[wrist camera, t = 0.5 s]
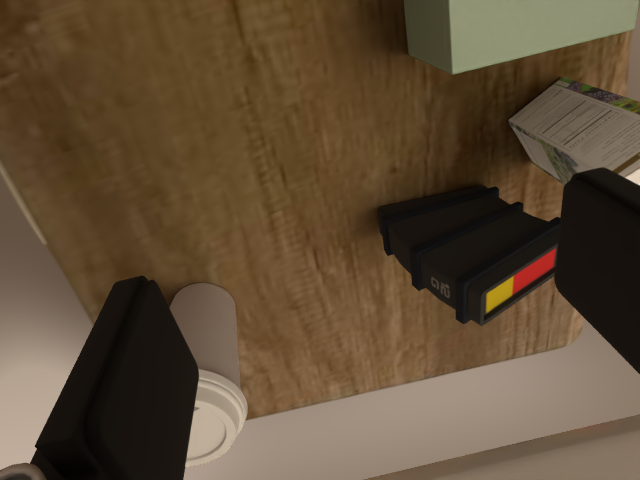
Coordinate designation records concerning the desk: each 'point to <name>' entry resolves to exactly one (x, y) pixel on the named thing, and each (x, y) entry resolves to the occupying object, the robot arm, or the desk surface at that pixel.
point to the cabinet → (507, 28)
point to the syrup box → (580, 131)
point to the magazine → (471, 249)
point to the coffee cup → (212, 369)
